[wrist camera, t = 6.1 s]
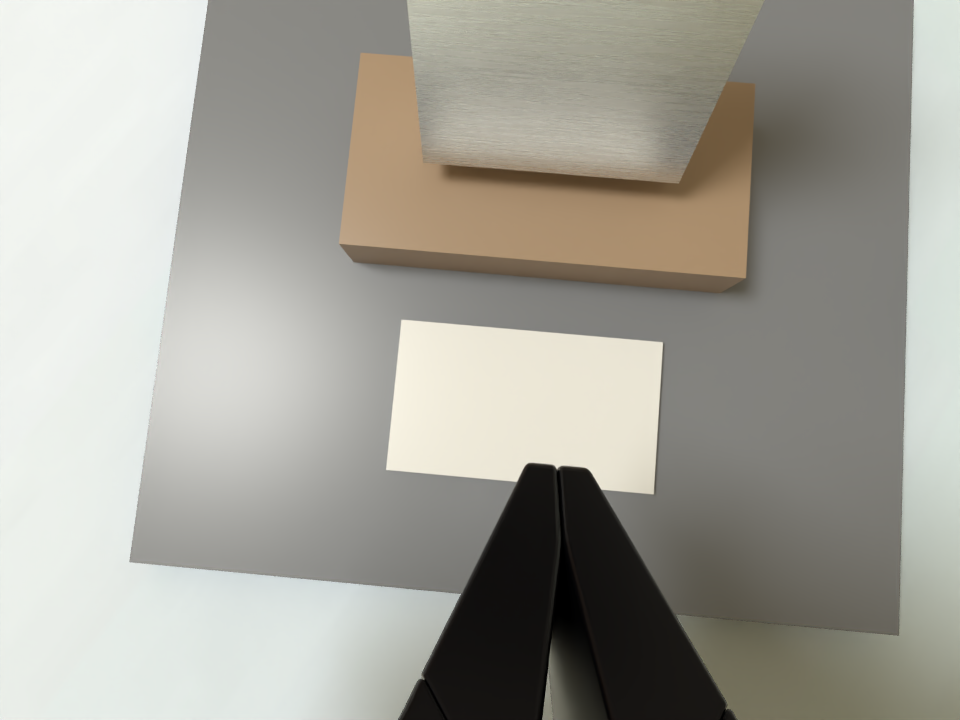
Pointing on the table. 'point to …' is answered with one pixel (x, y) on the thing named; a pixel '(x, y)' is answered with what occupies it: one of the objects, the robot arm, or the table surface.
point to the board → (539, 324)
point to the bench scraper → (572, 82)
